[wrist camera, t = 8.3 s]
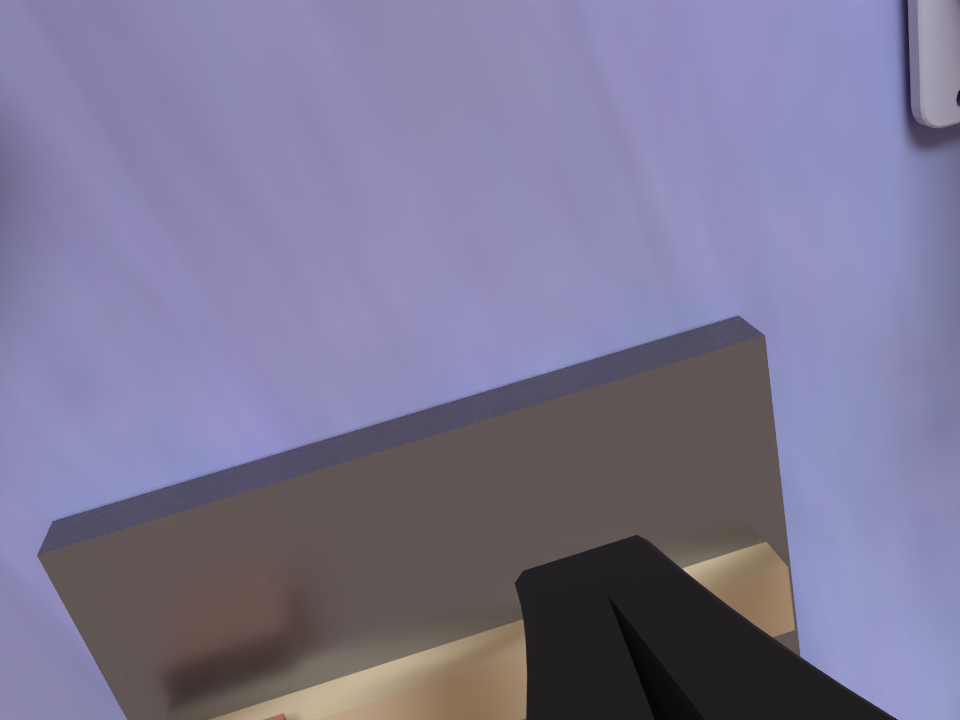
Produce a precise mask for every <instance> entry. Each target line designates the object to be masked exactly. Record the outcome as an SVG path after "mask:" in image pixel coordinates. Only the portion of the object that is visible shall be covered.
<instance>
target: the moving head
mask: <svg viewBox="0 0 960 720" xmlns="http://www.w3.org/2000/svg"><path fill="white" fill-rule="evenodd" d="M264 720H286V718H285V715H284V713H282V714H279V715H276V716H273V717H270V718H267V719H264Z"/></svg>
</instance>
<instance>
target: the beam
mask: <svg viewBox="0 0 960 720" xmlns="http://www.w3.org/2000/svg"><path fill="white" fill-rule="evenodd" d="M682 569H683V570H684V571H685V572H687V573H688V574H689V575H690V576H692V577H693V578H694V579H695V580H697V581H698V582H699V583H700V584H702V585H703V586H704V587H705V588H707V589H708V590H709V591H711V592H712V593H713V594H714V595H716V596H717V597H718V598H720V599H721V600H722V601H723V602H725V603H726V604H727V605H729V606H730V607H731V608H733V609H734V610H735V611H737V612H738V613H739V614H741V615H742V616H743V617H745V618H746V619H747V620H749V621H750V622H751V623H753V624H754V625H756V626H757V627H758V628H760V629H761V630H763V631H764V632H766V633H767V634H768V635H770V636H771V637H775V636H778V635H781V634H784V633H787V632H790V631H793V630H795V626H794V617H793V608H792V599H791V590H790V581H789V572H788V567H787V566H786V564H785V563H784V562H783V561H782V560H781V558H780V557H779V556H778V555H777V554H776V552H775V551H774V550H773V549H772V548H771V546H770V545H769V544H768V543H767V542H763V543H760V544H757V545H754V546H751V547H748V548H744V549H741V550H738V551H735V552H732V553H729V554H726V555H723V556H719V557H716V558H713V559H710V560H707V561H704V562H701V563H698V564H694V565H691V566H688V567H685V568H682ZM526 702H527V664H526V642H525V631H524V622H523V620H519V621H516V622H513V623H510V624H507V625H504V626H501V627H497V628H494V629H491V630H488V631H485V632H482V633H479V634H476V635H472V636H469V637H466V638H463V639H460V640H457V641H454V642H451V643H447V644H444V645H441V646H438V647H435V648H432V649H429V650H426V651H422V652H419V653H416V654H413V655H410V656H407V657H404V658H401V659H397V660H394V661H391V662H388V663H385V664H382V665H379V666H376V667H372V668H369V669H366V670H363V671H360V672H357V673H354V674H351V675H347V676H344V677H341V678H338V679H335V680H332V681H329V682H326V683H322V684H319V685H316V686H313V687H310V688H307V689H304V690H301V691H297V692H294V693H291V694H288V695H285V696H282V697H279V698H276V699H272V700H269V701H266V702H263V703H260V704H257V705H254V706H251V707H247V708H244V709H241V710H238V711H235V712H232V713H229V714H225V715H222V716H219V717H216V718H213V719H210V720H264V719H267V718H270V717H273V716H276V715H279V714H282V713H284V715H285V718H286V720H522V719H525V718H526Z"/></svg>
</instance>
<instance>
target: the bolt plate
mask: <svg viewBox="0 0 960 720" xmlns="http://www.w3.org/2000/svg"><path fill="white" fill-rule="evenodd" d="M635 535H639V536H641V537H643V538H645V539H646V540H648V541H650V542H651V543H652V544H653V545H654V546H656V547H657V548H658V549H659V550H660V551H661V552H663V553H664V554H665V555H666V556H667V557H668V558H670V559H671V560H672V561H673V562H674V563H676V564H677V565H678V566H679V567H680V568H685V567H688V566H691V565H694V564H698V563H701V562H704V561H707V560H710V559H713V558H716V557H719V556H723V555H726V554H729V553H732V552H735V551H738V550H741V549H744V548H748V547H751V546H754V545H757V544H760V543H763V542H767V543H768V544H769V545H770V546H771V548H772V549H773V550H774V551H775V552H776V554H777V555H778V556H779V557H780V558H781V560H782V561H783V562H784V563H785V564H786V566H787V567H788V572H789V581H790V590H791V599H792V608H793V617H794V626H795V630H793V631H790V632H787V633H784V634H781V635H778V636H775V637H773V638H774V639H775V640H777V641H778V642H780V643H781V644H783V645H784V646H785V647H787V648H788V649H790V650H791V651H793V652H794V653H795V654H797V655H798V656H800V650H799V640H798V631H797V622H796V613H795V604H794V595H793V586H792V577H791V568H790V559H789V550H788V541H787V532H786V523H785V514H784V505H783V496H782V487H781V478H780V469H779V460H778V451H777V441H776V432H775V423H774V414H773V405H772V396H771V387H770V378H769V369H768V360H767V351H766V342H765V335H763V334H762V333H761V332H759V331H758V330H757V329H756V328H754V327H753V326H752V325H750V324H749V323H748V322H746V321H745V320H744V319H742V318H741V317H740V316H737V317H733V318H730V319H727V320H723V321H720V322H716V323H713V324H710V325H706V326H703V327H700V328H696V329H693V330H690V331H686V332H683V333H680V334H676V335H673V336H670V337H666V338H663V339H660V340H656V341H653V342H650V343H646V344H643V345H640V346H636V347H633V348H630V349H626V350H623V351H620V352H616V353H613V354H610V355H606V356H603V357H600V358H596V359H593V360H590V361H586V362H583V363H580V364H576V365H573V366H570V367H566V368H563V369H560V370H556V371H553V372H550V373H546V374H543V375H540V376H536V377H533V378H530V379H526V380H523V381H520V382H516V383H513V384H510V385H506V386H503V387H500V388H496V389H493V390H490V391H486V392H483V393H480V394H476V395H473V396H470V397H466V398H463V399H460V400H456V401H453V402H450V403H446V404H443V405H440V406H436V407H433V408H430V409H426V410H423V411H420V412H416V413H413V414H410V415H406V416H403V417H400V418H396V419H393V420H390V421H386V422H383V423H380V424H376V425H373V426H370V427H366V428H363V429H360V430H356V431H353V432H349V433H346V434H343V435H339V436H336V437H333V438H329V439H326V440H323V441H319V442H316V443H313V444H309V445H306V446H303V447H299V448H296V449H293V450H289V451H286V452H283V453H279V454H276V455H273V456H269V457H266V458H263V459H259V460H256V461H253V462H249V463H246V464H243V465H239V466H236V467H233V468H229V469H226V470H223V471H219V472H216V473H213V474H209V475H206V476H203V477H199V478H196V479H193V480H189V481H186V482H183V483H179V484H176V485H173V486H169V487H166V488H163V489H159V490H156V491H153V492H149V493H146V494H143V495H139V496H136V497H133V498H129V499H126V500H123V501H119V502H116V503H113V504H109V505H106V506H103V507H99V508H96V509H93V510H89V511H86V512H83V513H79V514H76V515H73V516H69V517H66V518H63V519H59V520H56V521H53V522H52V524H51V526H50V528H49V531H48V533H47V535H46V537H45V539H44V542H43V544H42V546H41V548H40V550H39V552H38V555H37V556H38V558H39V560H40V561H41V563H42V565H43V567H44V569H45V571H46V572H47V574H48V576H49V578H50V580H51V581H52V583H53V585H54V587H55V589H56V591H57V592H58V594H59V596H60V598H61V600H62V601H63V603H64V605H65V607H66V609H67V611H68V612H69V614H70V616H71V618H72V620H73V621H74V623H75V625H76V627H77V629H78V631H79V632H80V634H81V636H82V638H83V640H84V641H85V643H86V645H87V647H88V649H89V651H90V652H91V654H92V656H93V658H94V660H95V661H96V663H97V665H98V667H99V669H100V671H101V672H102V674H103V676H104V678H105V680H106V681H107V683H108V685H109V687H110V689H111V691H112V692H113V694H114V696H115V698H116V700H117V701H118V703H119V705H120V707H121V709H122V711H123V712H124V714H125V716H126V718H127V720H210V719H213V718H216V717H219V716H222V715H225V714H229V713H232V712H235V711H238V710H241V709H244V708H247V707H251V706H254V705H257V704H260V703H263V702H266V701H269V700H272V699H276V698H279V697H282V696H285V695H288V694H291V693H294V692H297V691H301V690H304V689H307V688H310V687H313V686H316V685H319V684H322V683H326V682H329V681H332V680H335V679H338V678H341V677H344V676H347V675H351V674H354V673H357V672H360V671H363V670H366V669H369V668H372V667H376V666H379V665H382V664H385V663H388V662H391V661H394V660H397V659H401V658H404V657H407V656H410V655H413V654H416V653H419V652H422V651H426V650H429V649H432V648H435V647H438V646H441V645H444V644H447V643H451V642H454V641H457V640H460V639H463V638H466V637H469V636H472V635H476V634H479V633H482V632H485V631H488V630H491V629H494V628H497V627H501V626H504V625H507V624H510V623H513V622H516V621H519V620H523V615H522V609H521V605H520V601H519V598H518V594H517V590H516V587H515V582H516V580H517V579H518V577H519V576H520V574H521V573H522V571H524V570H527V569H530V568H533V567H536V566H540V565H543V564H546V563H549V562H552V561H555V560H559V559H562V558H565V557H568V556H571V555H574V554H578V553H581V552H584V551H587V550H590V549H593V548H597V547H600V546H603V545H606V544H609V543H612V542H616V541H619V540H622V539H625V538H628V537H631V536H635ZM522 720H526V718H525V719H522Z"/></svg>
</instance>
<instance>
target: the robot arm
mask: <svg viewBox="0 0 960 720" xmlns="http://www.w3.org/2000/svg"><path fill="white" fill-rule="evenodd" d="M908 22H909V54H910V86H911V109H912V113H913V117H914V118H915V119H916V121H917V122H918V123H920V124H922V125H924V126H928V127H932V128H944V127H948V126H951V125H955V124H958V123H960V105H959V106H958V105H957V102H956V98H957V93H958V91H959V90H960V0H908ZM515 587H516V590H517V594H518V598H519V601H520V605H521V609H522V615H523V622H524V631H525V642H526V664H527V702H526V720H897V719H896V718H894V717H893V716H891V715H889V714H888V713H886V712H885V711H883V710H881V709H880V708H878V707H877V706H875V705H873V704H872V703H870V702H869V701H867V700H865V699H864V698H862V697H861V696H859V695H857V694H856V693H854V692H853V691H851V690H849V689H848V688H846V687H845V686H843V685H841V684H840V683H838V682H837V681H835V680H834V679H832V678H831V677H829V676H828V675H826V674H825V673H823V672H822V671H820V670H819V669H817V668H816V667H814V666H813V665H811V664H810V663H808V662H807V661H805V660H804V659H803V658H801V657H800V656H798V655H797V654H795V653H794V652H793V651H791V650H790V649H788V648H787V647H785V646H784V645H783V644H781V643H780V642H778V641H777V640H775V639H774V638H773V637H771V636H770V635H768V634H767V633H766V632H764V631H763V630H761V629H760V628H758V627H757V626H756V625H754V624H753V623H751V622H750V621H749V620H747V619H746V618H745V617H743V616H742V615H741V614H739V613H738V612H737V611H735V610H734V609H733V608H731V607H730V606H729V605H727V604H726V603H725V602H723V601H722V600H721V599H720V598H718V597H717V596H716V595H714V594H713V593H712V592H711V591H709V590H708V589H707V588H705V587H704V586H703V585H702V584H700V583H699V582H698V581H697V580H695V579H694V578H693V577H692V576H690V575H689V574H688V573H687V572H685V571H684V570H683V569H682V568H680V567H679V566H678V565H677V564H676V563H674V562H673V561H672V560H671V559H670V558H668V557H667V556H666V555H665V554H664V553H663V552H661V551H660V550H659V549H658V548H657V547H656V546H654V545H653V544H652V543H651V542H650V541H648V540H646V539H645V538H643V537H641V536H639V535H635V536H631V537H628V538H625V539H622V540H619V541H616V542H612V543H609V544H606V545H603V546H600V547H597V548H593V549H590V550H587V551H584V552H581V553H578V554H574V555H571V556H568V557H565V558H562V559H559V560H555V561H552V562H549V563H546V564H543V565H540V566H536V567H533V568H530V569H527V570H524V571H522V573H521V574H520V576H519V577H518V579H517V580H516V582H515Z"/></svg>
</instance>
